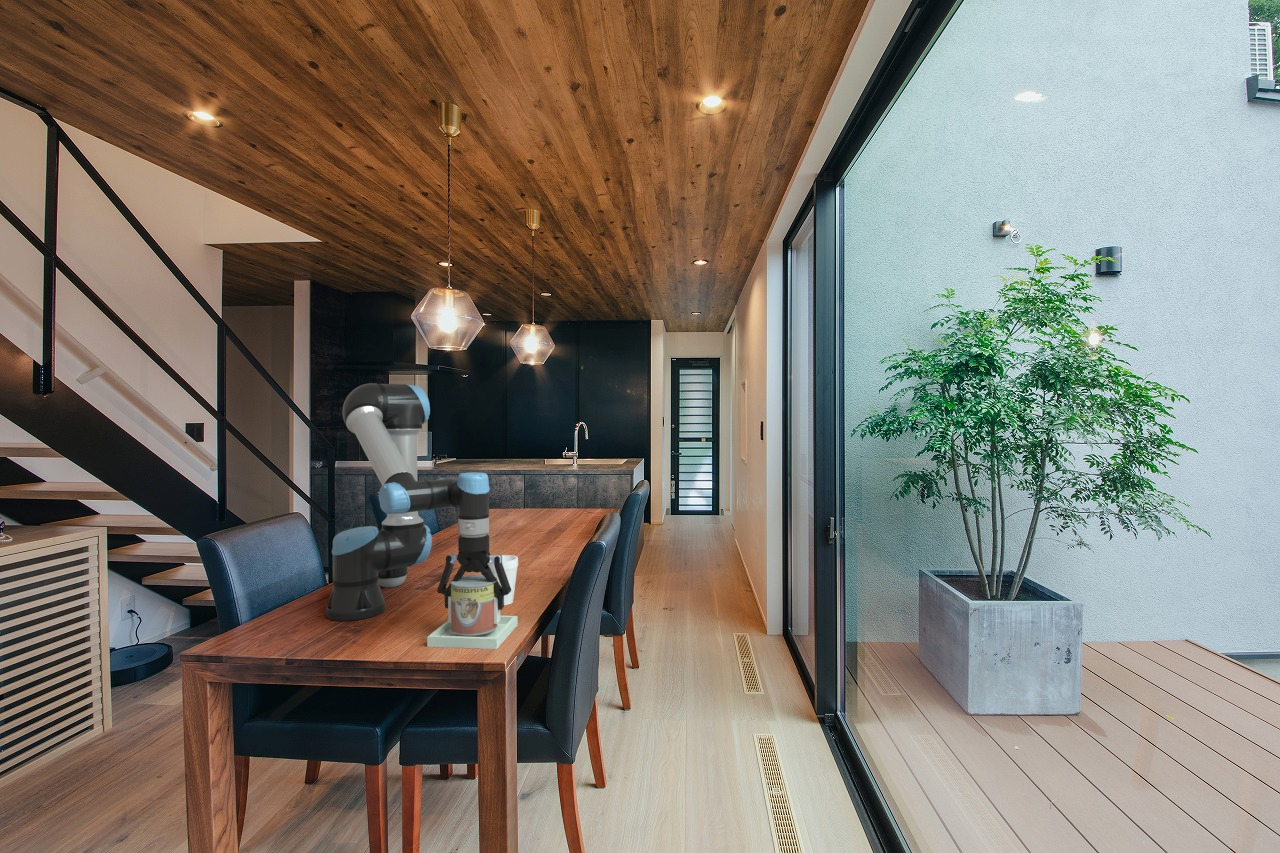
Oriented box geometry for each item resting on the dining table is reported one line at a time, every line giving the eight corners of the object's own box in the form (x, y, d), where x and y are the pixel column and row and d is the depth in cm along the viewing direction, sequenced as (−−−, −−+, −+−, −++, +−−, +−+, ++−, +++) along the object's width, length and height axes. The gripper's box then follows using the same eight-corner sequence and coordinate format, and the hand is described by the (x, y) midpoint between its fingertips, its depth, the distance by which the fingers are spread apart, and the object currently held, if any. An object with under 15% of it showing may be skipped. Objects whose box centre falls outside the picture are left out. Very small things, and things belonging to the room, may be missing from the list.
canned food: (444, 635, 150) (443, 586, 150) (459, 620, 161) (459, 574, 161) (490, 636, 149) (489, 586, 149) (502, 620, 161) (502, 574, 161)
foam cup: (499, 609, 177) (499, 563, 177) (479, 603, 182) (479, 559, 182) (525, 601, 184) (524, 557, 184) (504, 595, 190) (504, 553, 190)
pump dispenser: (401, 589, 197) (400, 542, 197) (369, 589, 197) (368, 542, 197) (413, 581, 207) (413, 536, 207) (382, 581, 208) (382, 536, 207)
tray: (427, 646, 148) (427, 636, 148) (455, 623, 165) (455, 614, 165) (496, 649, 146) (496, 639, 146) (517, 625, 163) (517, 616, 163)
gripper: (422, 536, 152) (422, 625, 153) (515, 538, 150) (515, 628, 151) (435, 531, 160) (435, 615, 160) (523, 532, 158) (524, 618, 158)
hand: (474, 621), depth 155 cm, fingers closed on canned food, 11 cm apart
